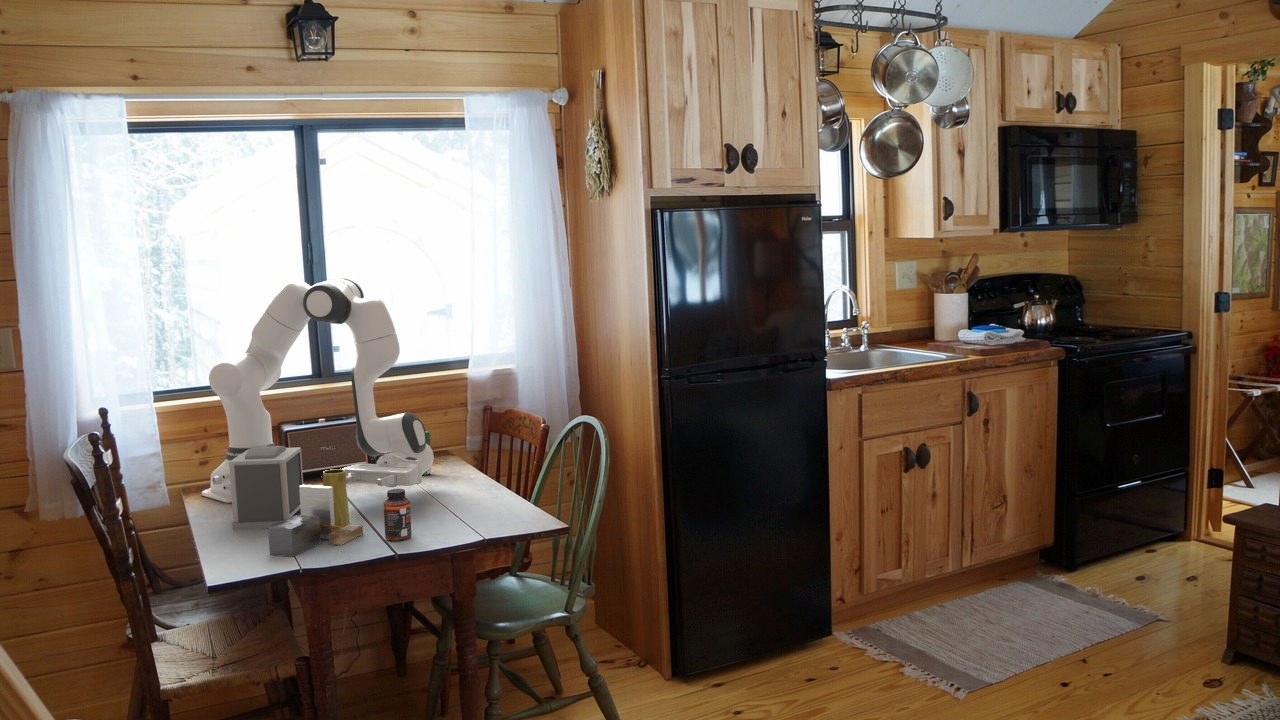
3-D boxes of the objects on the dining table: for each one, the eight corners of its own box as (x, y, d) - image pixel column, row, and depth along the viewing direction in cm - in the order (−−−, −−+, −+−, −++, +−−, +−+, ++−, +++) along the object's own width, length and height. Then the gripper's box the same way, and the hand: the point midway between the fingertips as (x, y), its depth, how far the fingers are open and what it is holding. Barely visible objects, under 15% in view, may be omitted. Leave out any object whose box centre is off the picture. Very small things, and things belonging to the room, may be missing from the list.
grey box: (254, 510, 261) (249, 441, 259) (306, 508, 262) (302, 439, 259) (231, 530, 242) (225, 455, 240) (287, 527, 243) (282, 453, 241)
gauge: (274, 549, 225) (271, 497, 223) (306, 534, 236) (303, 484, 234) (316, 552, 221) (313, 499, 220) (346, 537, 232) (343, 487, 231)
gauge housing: (270, 554, 222) (268, 527, 221) (298, 541, 231) (296, 515, 230) (293, 556, 220) (291, 528, 219) (320, 543, 229) (318, 516, 229)
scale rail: (329, 544, 228) (328, 534, 228) (352, 533, 237) (351, 523, 237) (340, 545, 227) (340, 535, 227) (363, 534, 236) (362, 524, 236)
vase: (340, 534, 237) (337, 474, 235) (318, 532, 239) (315, 473, 237) (355, 526, 242) (352, 469, 241) (333, 525, 244) (330, 467, 243)
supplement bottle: (412, 540, 230) (410, 492, 229) (385, 543, 228) (383, 494, 227) (410, 533, 236) (408, 486, 234) (384, 536, 234) (382, 488, 233)
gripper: (358, 456, 267) (326, 467, 254) (426, 459, 261) (397, 471, 248) (359, 479, 268) (328, 491, 255) (427, 483, 262) (399, 496, 248)
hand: (363, 481), depth 251 cm, fingers open, 8 cm apart
